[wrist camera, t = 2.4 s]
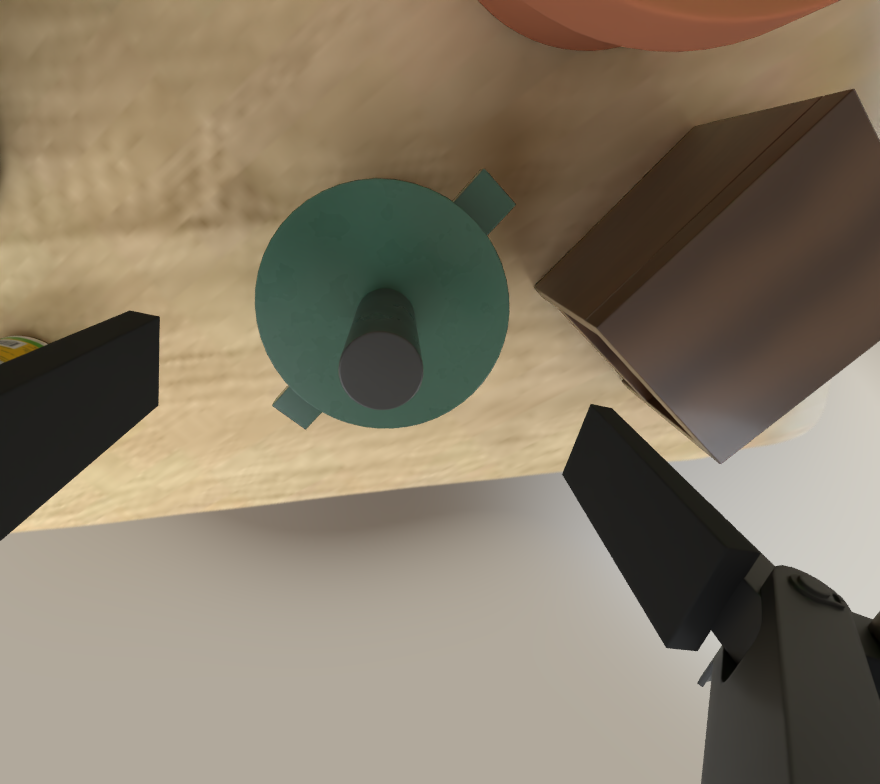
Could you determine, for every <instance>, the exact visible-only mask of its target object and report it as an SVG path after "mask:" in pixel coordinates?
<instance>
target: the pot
mask: <svg viewBox="0 0 880 784" xmlns="http://www.w3.org/2000/svg"><path fill="white" fill-rule="evenodd" d="M453 202H454V203H455V204H457V205H458V206H460V207H461V208H462V209H463V210H464V211H466V212H467V213H468V214H469V215H470V216H471V217H472V218H473V219H474V220H475V221H476V222H477V223H478V225H479V226H480V227H481V228H482V230H483V231H484V232H485V233H486V235H488V234H489V233H490V232H491V231H492V230H493V229H494V228H495V227H496V226H497V225H498V224H499V222H500V221H501V220H502V219H503V218H504V217H505V216H506V215H507V214H508V213H509V212H510V211H511V210H512V209H513V207H514V206H515V205H516V204H515V203H514V201H513V200H512V199H511V198H510V197H509V196H508V195H507V194H506V192H505V191H504V190H503V189H502V188H501V187H500V186H499V184H498V183H497V182H496V181H495V180H494V179H493V178H492V176H491V175H490V174H489V173H488V172H487V171H486V170H485V169H481V170H479V172H478V173H477V174H476V175H475V176H474V177H473V178H472V179H471V181H470V182H469V183H468V184H467V185H466V186H465V187H464V188H463V190H462V191H461V192H460V193H459V194H458V195H457V196H456V197H455V199H454V200H453ZM272 406H273V407H275V408H276V409H277V410H279V411H280V412H282V413H283V414H284V415H286V416H287V417H289V418H290V419H291V420H293V421H294V422H296V423H297V424H298V425H300V426H301V427H303V428H304V429H307V428H308V427H309V426H310V424H311V423H312V422H313V421H314V420H315V419H316V418H317V417H318V416H319V415H320V414H321V413H322V412H321V411H319V410H318V409H316V408H315V407H313V406H312V405H310V404H309V403H307V402H306V401H305V400H304V399H302V398H301V397H300V396H299V395H298V394H296V393H295V392H294V391H293V390H292V388H291V387H290V386H289V385H288V386H287V387H286V388H285V389H284V390H283V391H282V392H281V394H280V395H279V396H278V397H277V398H276V400H275V401H274V403H273V405H272Z"/></svg>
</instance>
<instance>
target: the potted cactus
mask: <svg viewBox="0 0 880 784" xmlns="http://www.w3.org/2000/svg"><path fill="white" fill-rule="evenodd" d="M838 1H840V0H479V2H480V3H481V4H482V5H483V6H484V7H485V8H486V9H487V10H488V11H489V12H490V13H491V14H492V15H493V16H495V17H496V18H497V19H498V20H500V21H501V22H502V23H504V24H505V25H506V26H508V27H510V28H511V29H513V30H514V31H516V32H517V33H519V34H521V35H523V36H525V37H528V38H530V39H532V40H534V41H537V42H540V43H543V44H545V45H549V46H553V47H557V48H562V49H569V50H582V51H593V50H605V49H611V48H616V47H621V46H623V47H627V48H634V49H641V50H649V51H670V52H681V51H693V50H705V49H710V48H716V47H721V46H726V45H731V44H734V43H738V42H741V41H744V40H747V39H751V38H754V37H757V36H760V35H762V34H765V33H767V32H769V31H772V30H774V29H776V28H779V27H781V26H783V25H786V24H788V23H790V22H792V21H795V20H797V19H799V18H801V17H804V16H806V15H808V14H810V13H813V12H815V11H817V10H819V9H822V8H824V7H826V6H829V5H831V4H833V3H835V2H838Z"/></svg>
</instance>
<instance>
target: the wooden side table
mask: <svg viewBox="0 0 880 784" xmlns="http://www.w3.org/2000/svg"><path fill="white" fill-rule="evenodd" d="M534 288H535V290H536V291H537V292H538V293H539V294H540V295H541V296H542V297H543V298H544V299H546V300H547V301H549V302H550V303H551V304H553V305H554V306H556V307H557V308H558V309H559V310H560V311H561V312H562V313H563V314H564V315H565V316H566V317H567V318H568V320H569V321H570V322H571V323H572V324H573V325H574V326H575V327H576V328H577V329H578V330H579V331H580V332H581V333H582V335H583V336H584V337H585V338H586V339H587V340H588V341H589V342H590V343H591V344H592V345H593V346H594V347H595V348H596V350H597V351H598V352H599V353H600V354H601V355H602V356H603V357H604V358H605V359H606V360H607V361H608V362H609V363H610V365H611V366H612V367H613V368H614V369H615V370H616V371H617V372H618V373H619V374H620V375H621V376H622V377H623V379H624V380H622V382H623V383H624V384H625V386H626V387H627V388H628V389H629V390H630V391H631V392H633V393H634V394H635V395H636V396H638V397H639V398H640V399H641V400H642V401H644V402H645V403H646V404H647V405H648V406H650V407H651V408H652V409H653V410H655V411H656V412H657V413H658V414H659V415H661V416H662V417H663V418H664V419H666V420H667V421H668V422H669V423H670V424H672V425H673V426H674V427H675V428H676V429H678V430H679V431H680V432H681V433H683V434H684V435H685V436H686V437H687V438H689V439H690V440H691V441H692V442H694V443H695V444H696V445H697V446H698V447H700V448H701V449H702V450H703V451H705V452H706V453H707V454H708V455H709V456H711V457H712V458H713V459H714V460H716V461H717V462H718V463H719V464H722V463H723V462H724V461H726V460H727V459H728V458H730V457H731V456H732V455H733V454H735V453H736V452H737V451H739V450H740V449H741V448H742V447H744V446H745V445H746V444H748V443H749V442H750V441H751V440H753V439H754V438H755V437H757V436H758V435H759V434H760V433H762V432H763V431H764V430H766V429H767V428H768V427H769V426H771V425H772V424H773V423H775V422H776V421H777V420H778V419H780V418H781V417H782V416H784V415H785V414H786V413H787V412H789V411H790V410H791V409H793V408H794V407H795V406H796V405H798V404H799V403H800V402H802V401H803V400H804V399H805V398H807V397H808V396H809V395H811V394H812V393H813V392H814V391H816V390H817V389H818V388H820V387H821V386H822V385H823V384H825V383H826V382H827V381H829V380H830V379H831V378H832V377H834V376H835V375H836V374H838V373H839V372H840V371H841V370H843V369H844V368H845V367H846V366H848V365H849V364H850V363H852V362H853V361H854V360H855V359H857V358H858V357H859V356H861V355H862V354H863V353H864V352H866V351H867V350H868V349H870V348H871V347H872V346H873V345H875V344H876V343H877V342H879V341H880V140H879V138H878V136H877V134H876V132H875V130H874V128H873V126H872V124H871V122H870V120H869V118H868V116H867V114H866V112H865V109H864V107H863V105H862V103H861V101H860V99H859V97H858V95H857V93H856V91H855V89H850V90H846V91H842V92H837V93H833V94H829V95H825V96H820V97H816V98H812V99H808V100H804V101H799V102H795V103H791V104H787V105H783V106H778V107H774V108H770V109H766V110H762V111H757V112H753V113H749V114H745V115H740V116H736V117H732V118H728V119H724V120H719V121H715V122H711V123H707V124H703V125H698V126H695V127H693V128H692V129H691V130H690V131H689V132H688V133H687V134H686V135H685V136H684V137H683V138H682V139H681V140H680V141H679V142H678V143H677V144H676V145H675V146H674V147H673V148H672V149H671V150H670V151H669V152H668V153H667V154H666V155H665V156H664V157H663V158H662V159H661V160H660V161H659V162H658V163H657V164H656V165H655V166H654V167H653V168H652V169H651V170H650V171H649V172H648V173H647V174H646V175H645V176H644V177H643V178H642V179H641V180H640V181H639V182H638V183H637V184H636V185H635V186H634V187H633V188H632V189H631V190H630V191H629V192H628V193H627V194H626V195H625V196H624V197H623V198H622V199H621V200H620V201H619V202H618V203H617V204H616V205H615V206H614V207H613V208H612V209H611V210H610V211H609V212H608V213H607V214H606V215H605V216H604V217H603V218H602V219H601V220H600V221H599V222H598V223H597V224H596V225H595V226H594V227H593V228H592V229H591V230H590V231H589V232H588V233H587V234H586V235H585V236H584V237H583V238H582V239H581V240H580V241H579V242H578V243H577V244H576V245H575V246H574V247H573V248H572V249H571V250H570V251H569V252H568V253H567V254H566V255H565V256H564V257H563V258H562V259H561V260H560V261H559V262H558V263H557V264H556V265H555V266H554V267H553V268H552V269H551V270H550V271H549V272H548V273H547V274H546V275H545V276H544V277H543V278H542V279H541V280H540V281H539V282H538V283H537V284H536V285H535V286H534Z"/></svg>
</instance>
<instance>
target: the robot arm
mask: <svg viewBox="0 0 880 784" xmlns="http://www.w3.org/2000/svg"><path fill="white" fill-rule="evenodd" d="M159 328H160V317H159V316H154V315H149V314H144V313H139V312H134V311H127V312H125V313H123V314H120V315H118V316H115V317H113V318H111V319H108V320H106V321H103V322H101V323H98V324H96V325H94V326H91V327H89V328H86V329H84V330H82V331H79V332H77V333H74V334H72V335H69V336H67V337H65V338H62V339H60V340H57V341H55V342H52V343H50V344H48V345H45V346H43V347H40V348H38V349H36V350H33V351H31V352H28V353H26V354H23V355H21V356H19V357H16V358H14V359H11V360H9V361H6V362H4V363H2V364H0V541H1V540H2V539H3V538H4V537H5V536H7V535H8V534H9V533H10V532H11V531H13V530H14V529H15V528H16V527H17V526H18V525H20V524H21V523H22V522H23V521H24V520H25V519H27V518H28V517H29V516H30V515H31V514H32V513H34V512H35V511H36V510H37V509H38V508H39V507H41V506H42V505H43V504H44V503H45V502H46V501H48V500H49V499H50V498H51V497H52V496H53V495H55V494H56V493H57V492H58V491H59V490H60V489H62V488H63V487H64V486H65V485H66V484H67V483H69V482H70V481H71V480H72V479H73V478H74V477H76V476H77V475H78V474H79V473H80V472H81V471H82V470H84V469H85V468H86V467H87V466H88V465H89V464H91V463H92V462H93V461H94V460H95V459H96V458H98V457H99V456H100V455H101V454H102V453H103V452H105V451H106V450H107V449H108V448H109V447H110V446H112V445H113V444H114V443H115V442H116V441H117V440H119V439H120V438H121V437H122V436H123V435H124V434H126V433H127V432H128V431H129V430H130V429H131V428H133V427H134V426H135V425H136V424H137V423H138V422H140V421H141V420H142V419H143V418H144V417H145V416H147V415H148V414H149V413H150V412H151V411H152V410H154V409H155V408H156V407H157V406H158V396H159ZM562 475H563V476H564V478H565V480H566V481H567V483H568V485H569V486H570V488H571V490H572V491H573V493H574V495H575V496H576V498H577V500H578V502H579V503H580V505H581V507H582V508H583V510H584V511H585V513H586V514H587V517H588V518H589V520H590V522H591V523H592V525H593V526H594V528H595V530H596V531H597V533H598V535H599V537H600V538H601V540H602V541H603V543H604V545H605V547H606V548H607V550H608V552H609V553H610V555H611V557H612V558H613V560H614V562H615V563H616V565H617V566H618V568H619V570H620V571H621V573H622V575H623V576H624V578H625V580H626V582H627V583H628V585H629V587H630V588H631V590H632V592H633V593H634V595H635V597H636V598H637V600H638V602H639V603H640V605H641V606H642V608H643V609H644V611H645V613H646V615H647V617H648V618H649V620H650V622H651V623H652V625H653V626H654V628H655V630H656V631H657V633H658V635H659V637H660V638H661V640H662V641H663V643H664V645H665V646H666V648H672V649H681V650H691V651H698V650H699V648H700V646H701V645H702V643H703V642H704V640H705V639H706V637H707V636H708V634H709V632H710V630H712V632H713V633H714V635H715V636H716V637H717V639H718V640H719V641H720V643H721V644H722V646H721V648H720V649H719V651H718V652H717V654H716V655H715V657H714V658H713V660H712V661H711V662H710V664H709V666H708V667H707V669H706V670H705V671H704V673H703V675H702V676H701V677H700V679H699V681H698V684H699V685H700V686H702V687H703V686H704V684H705V683H706V682H707V681H711V690H710V700H709V710H708V720H707V731H706V740H705V750H704V761H703V770H702V781H701V784H880V612H879V613H878V614H877V615H876V616H875V618H874V619H870V618H867V617H864V616H862V615H859V614H856V613H853V612H851V610H850V608H849V607H848V605H847V604H846V602H845V601H844V600H843V598H842V597H841V596H839V595H838V594H837V593H836V592H835V591H834V590H832V589H831V588H829V587H828V586H827V585H825V584H824V583H823V582H821V581H819V580H818V579H816V578H815V577H812V576H811V575H809V574H807V573H805V572H802V571H800V570H798V569H795V568H792V567H788V566H783V565H782V566H774V565H773V564H772V563H771V562H770V561H769V560H768V559H767V558H766V557H765V556H764V555H763V554H762V553H761V552H760V551H758V549H757V548H756V547H755V546H753V545H752V544H751V543H750V542H749V541H748V540H747V539H746V538H745V537H744V536H743V535H742V534H741V533H740V532H739V531H738V530H737V529H736V528H735V527H734V526H733V525H732V524H731V523H730V522H729V521H728V520H726V519H725V518H724V517H723V515H722V514H720V512H718V511H717V510H716V509H715V508H714V507H713V506H712V505H711V504H710V503H709V502H708V501H707V500H705V498H704V497H702V496H701V494H699V493H698V492H697V491H696V490H695V489H694V488H693V487H692V486H691V485H690V484H689V483H688V482H687V481H686V480H685V479H684V478H683V477H682V476H681V475H680V474H679V473H678V472H677V471H676V470H675V469H674V468H673V467H672V466H671V465H670V464H669V463H668V462H667V461H666V460H665V459H664V458H662V457H661V456H660V455H659V454H658V453H657V452H656V451H655V450H654V449H653V448H652V447H651V446H650V445H649V444H648V443H647V442H646V441H645V440H644V439H643V438H642V437H641V436H640V435H639V434H638V433H637V432H636V431H635V430H634V429H633V428H632V427H631V426H630V425H629V424H628V423H626V422H625V421H624V420H623V419H622V418H621V417H620V416H619V415H618V414H617V413H616V412H615V411H614V410H613V409H612V408H608V407H603V406H598V405H593V404H591V405H590V407H589V410H588V412H587V414H586V417H585V419H584V422H583V424H582V427H581V429H580V432H579V434H578V437H577V439H576V442H575V444H574V446H573V449H572V451H571V454H570V456H569V459H568V461H567V464H566V466H565V469H564V471H563V474H562Z"/></svg>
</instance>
